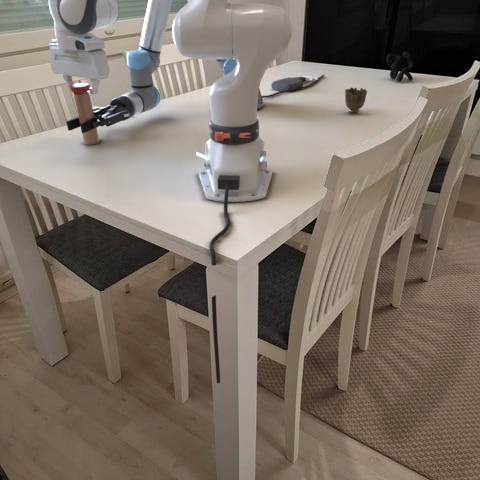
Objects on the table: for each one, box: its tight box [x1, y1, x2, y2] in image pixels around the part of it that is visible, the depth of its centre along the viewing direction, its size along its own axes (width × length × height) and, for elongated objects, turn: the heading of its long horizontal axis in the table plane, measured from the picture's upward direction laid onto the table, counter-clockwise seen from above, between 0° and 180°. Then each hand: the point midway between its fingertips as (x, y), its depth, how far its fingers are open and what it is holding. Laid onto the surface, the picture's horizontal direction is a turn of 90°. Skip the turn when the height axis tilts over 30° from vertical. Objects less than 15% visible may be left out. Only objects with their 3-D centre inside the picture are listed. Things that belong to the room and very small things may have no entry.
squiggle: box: [385, 51, 414, 83], centre depth 198 cm, size 11×10×15 cm
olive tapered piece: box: [344, 87, 368, 115], centre depth 156 cm, size 8×7×8 cm
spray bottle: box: [270, 75, 319, 92], centre depth 194 cm, size 3×11×24 cm
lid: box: [70, 82, 91, 94], centre depth 129 cm, size 5×5×2 cm
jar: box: [72, 91, 100, 146], centre depth 133 cm, size 5×5×16 cm
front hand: (83, 92), depth 130 cm, fingers open, 7 cm apart
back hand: (75, 127), depth 130 cm, fingers closed on jar, 5 cm apart
